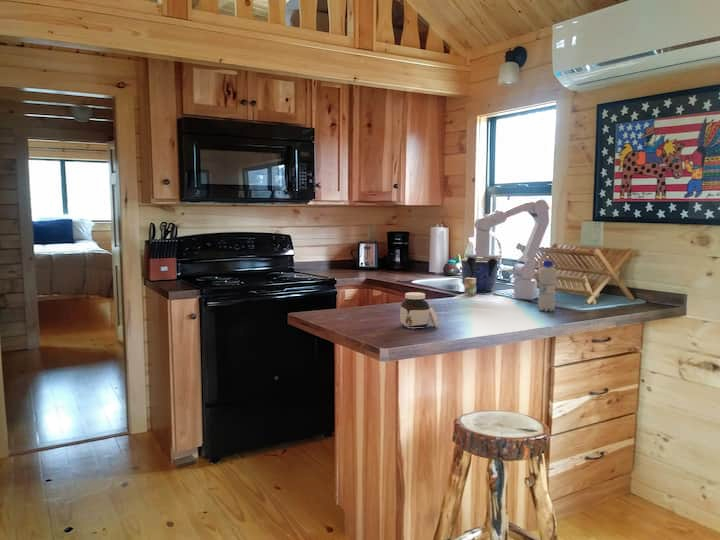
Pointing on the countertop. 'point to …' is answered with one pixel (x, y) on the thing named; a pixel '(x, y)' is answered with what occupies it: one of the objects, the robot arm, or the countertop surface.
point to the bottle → (547, 287)
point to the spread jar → (417, 311)
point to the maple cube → (470, 282)
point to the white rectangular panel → (480, 298)
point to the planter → (480, 274)
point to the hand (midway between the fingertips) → (481, 275)
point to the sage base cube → (470, 292)
